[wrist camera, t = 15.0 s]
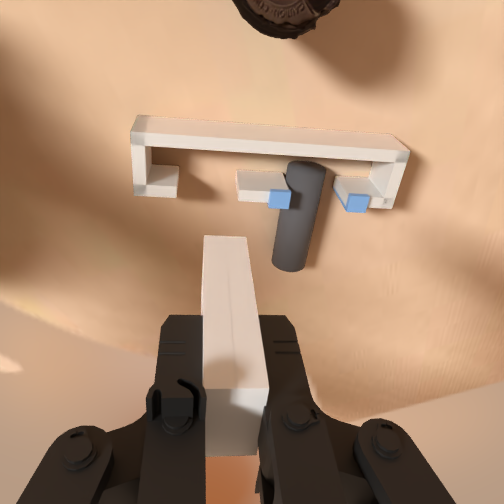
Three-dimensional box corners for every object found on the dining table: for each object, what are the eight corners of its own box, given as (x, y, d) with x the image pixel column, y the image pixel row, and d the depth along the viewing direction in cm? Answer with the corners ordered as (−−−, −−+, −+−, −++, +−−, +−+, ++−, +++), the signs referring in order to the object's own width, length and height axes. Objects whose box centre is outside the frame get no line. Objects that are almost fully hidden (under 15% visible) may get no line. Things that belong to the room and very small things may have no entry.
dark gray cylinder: (309, 259, 51) (298, 276, 48) (279, 249, 52) (266, 264, 49) (330, 167, 44) (319, 179, 41) (295, 157, 46) (281, 168, 43)
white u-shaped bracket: (140, 177, 44) (133, 201, 40) (137, 114, 41) (129, 133, 36) (374, 190, 48) (393, 214, 43) (391, 134, 44) (413, 153, 40)
